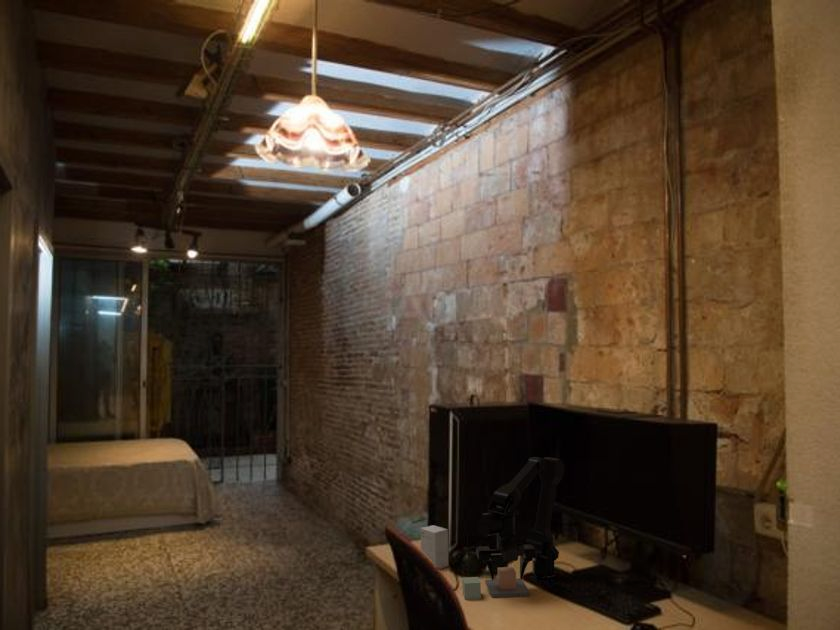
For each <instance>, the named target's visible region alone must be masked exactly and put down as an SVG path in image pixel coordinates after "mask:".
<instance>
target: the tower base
mask: <svg viewBox="0 0 840 630" xmlns="http://www.w3.org/2000/svg"><path fill="white" fill-rule="evenodd" d="M484 582H485V584H484V585H485V586H486V588H487V590H488V592H489V595H490V598H492V599H493V598H495V599H496V598H514V597H515V598H517V597H519V598H521V597H531V593H530V590H529V588H528V587H527V585H526V584H525V582H524V580H523V578H522V579H520V577H519V578H518V577H517V578H516V589H500V587H499V584H498V578H497V579H494V580H493V581H492V579H485V580H484Z"/></svg>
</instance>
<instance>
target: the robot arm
mask: <svg viewBox="0 0 840 630" xmlns="http://www.w3.org/2000/svg"><path fill="white" fill-rule="evenodd" d="M565 470H566V466H565V463H564V461H563V460H562V459H560V458H553V457H546V456H545V457H543V458H541V457H535V456H532V457H529V458H528V460H527V463H526V464H524V466H523V467H522V468H521V469H520V470H519V471H518V473H516V475H515V476H514V477H513V478H512V479H511V481H509V482H508V483H505V484H503V485H500V487H499V488H498V489H496V490H495V491H494V493H493V495H492V497H491V500H490V502H489V505H488V507H487V509H486V513H485V512H484V513H481V517H480V518H479V519H478V520H477V523H476V529H477V531H478V533H479V534H480V535H481V537H490V536H493V535H496V549H495V548H494V549H491V548H490V547H489V545H484V546H481V545H480V546H477V547H476V548H475V549H476V551H475V553H476V557H477V559H478V561H481V562H482V563H484V564H486V567H487V568H488V572H489V576H490V579H491V580H492V581H493V580H494V578H495V577H494V576H495V575H494V569H493V560H492V556H493V557H494V556H495V557H496V556H498V557H499V556H501V557H502V560H503V561H504V562H509V561H513V562H516V561H519V578H520V579H522V580H523V578H524V574H525V572H526V568H527V567H528V564H529V562H531V563H532V574H533V575H534V576H535V578H536V577H537V578H542V577H544V576H545V577H546V576H551V575H554V574H555V575H556V573H555V561H557V559H559V555H560V552H559V550H558V549H557V548H556V546H554V535H553V532H552V530H551V525H552V518H553V512H554V506H555V499H556V493H557V487H558V485H559V484H560V482H561V481H562V480H563V479H564V474H565ZM538 474H539V477H540V480H541V486H540V487H541V489H540V494H539V501H538V505H537V507H538V508H537V513H536V520H535V524H534V527H533V528H532V529H528V531H527V537H526V541H525V542H526V544H524V543H523V542H521V543H519V542H517V540H516V525H515V524H516V522H515V516H516V515H519V514H520V511H518V510H517V506H518V504H519V503H520V501H521V499H522V494H523V492H524V491H525V489H526V488H527V487H528V486H529V485H530V484H531V483H532V481H533V480H534V479H535V478H536V476H538ZM537 578H536V579H537Z"/></svg>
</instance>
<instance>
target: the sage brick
mask: <svg viewBox="0 0 840 630" xmlns="http://www.w3.org/2000/svg"><path fill="white" fill-rule="evenodd" d="M461 579H462V581H461V582H462V596H463V599H464V601H466V600H481V599H482V593H481V592H482V590H481V588H482V587H481V586H482V584H481V580H480V578H479V576H474V577H473V576H471V577H461Z"/></svg>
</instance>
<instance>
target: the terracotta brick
mask: <svg viewBox="0 0 840 630" xmlns="http://www.w3.org/2000/svg"><path fill="white" fill-rule="evenodd" d="M497 579H498V584H499V587H500V589H516V579H517V571H516V570H515V568H514V566H503V567H497Z"/></svg>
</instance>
